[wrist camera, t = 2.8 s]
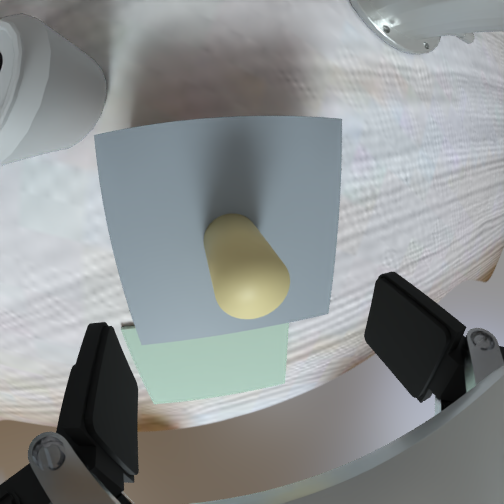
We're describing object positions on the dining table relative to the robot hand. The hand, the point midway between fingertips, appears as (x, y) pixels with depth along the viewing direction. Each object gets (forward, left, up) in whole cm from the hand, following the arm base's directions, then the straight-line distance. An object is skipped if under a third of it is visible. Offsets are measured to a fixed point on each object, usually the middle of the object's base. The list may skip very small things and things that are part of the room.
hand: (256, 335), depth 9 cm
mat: (+2, +15, -14) cm, 21 cm away
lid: (0, -1, -8) cm, 8 cm away
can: (+11, -11, -14) cm, 21 cm away
